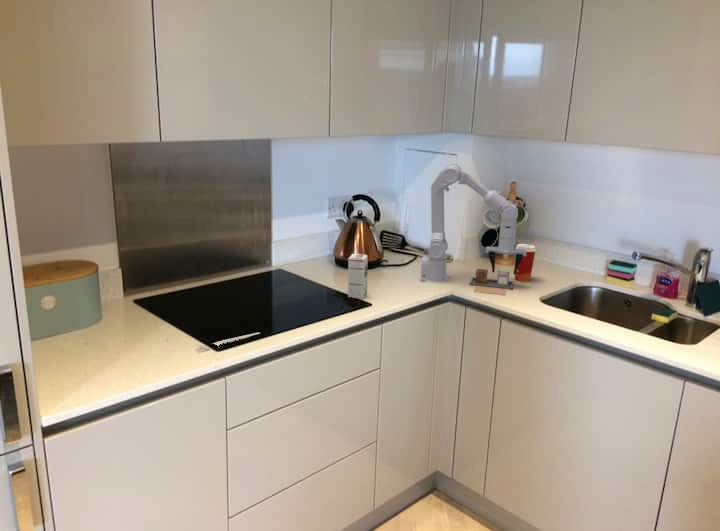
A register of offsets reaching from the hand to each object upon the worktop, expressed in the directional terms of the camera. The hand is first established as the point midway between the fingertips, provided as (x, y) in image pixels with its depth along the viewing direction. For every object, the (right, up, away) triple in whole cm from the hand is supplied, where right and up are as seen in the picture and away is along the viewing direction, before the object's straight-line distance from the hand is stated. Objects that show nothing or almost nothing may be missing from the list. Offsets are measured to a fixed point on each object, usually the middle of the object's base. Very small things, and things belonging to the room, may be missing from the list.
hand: (503, 272), depth 221 cm
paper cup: (+9, -3, +9) cm, 14 cm away
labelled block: (0, -5, +1) cm, 5 cm away
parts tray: (-4, -5, +3) cm, 7 cm away
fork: (-90, -19, -54) cm, 107 cm away
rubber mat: (-6, -7, -5) cm, 10 cm away
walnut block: (-8, -4, +3) cm, 10 cm away
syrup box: (-55, -8, -13) cm, 57 cm away
